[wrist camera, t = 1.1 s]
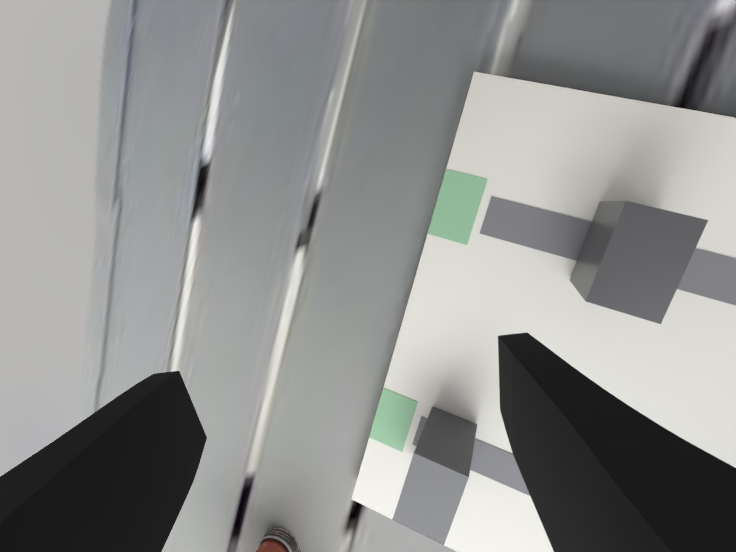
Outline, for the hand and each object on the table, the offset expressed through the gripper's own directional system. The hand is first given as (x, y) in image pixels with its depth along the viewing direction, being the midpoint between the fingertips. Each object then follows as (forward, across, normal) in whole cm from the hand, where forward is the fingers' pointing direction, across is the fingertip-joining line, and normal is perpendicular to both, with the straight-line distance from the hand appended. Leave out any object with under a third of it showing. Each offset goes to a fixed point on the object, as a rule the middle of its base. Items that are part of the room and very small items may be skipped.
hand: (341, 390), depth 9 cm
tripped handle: (+10, -11, +2) cm, 15 cm away
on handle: (+9, -3, +12) cm, 15 cm away
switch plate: (+10, -9, +8) cm, 16 cm away
